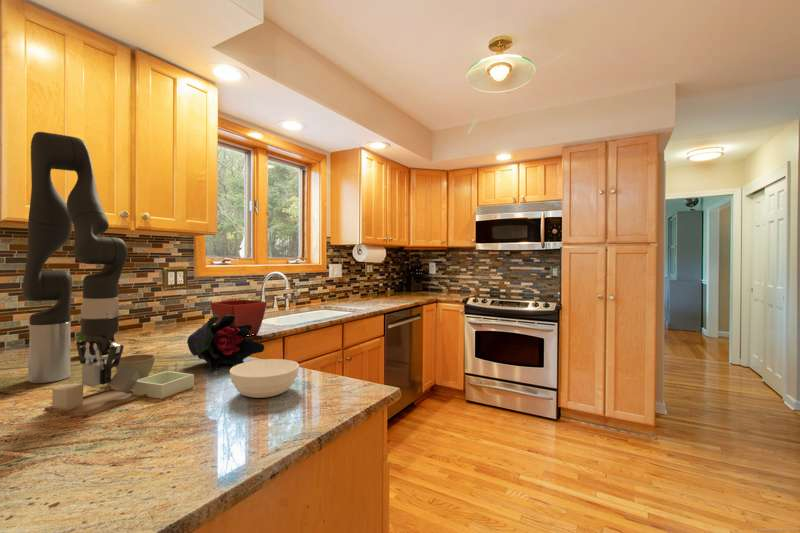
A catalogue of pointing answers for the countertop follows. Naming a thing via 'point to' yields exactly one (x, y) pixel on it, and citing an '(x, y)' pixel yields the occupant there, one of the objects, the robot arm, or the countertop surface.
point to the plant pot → (241, 312)
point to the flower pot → (138, 363)
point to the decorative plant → (222, 342)
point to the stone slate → (91, 374)
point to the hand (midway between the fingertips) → (98, 382)
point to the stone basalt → (124, 379)
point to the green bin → (163, 384)
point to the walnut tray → (99, 402)
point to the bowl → (264, 377)
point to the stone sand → (67, 396)
